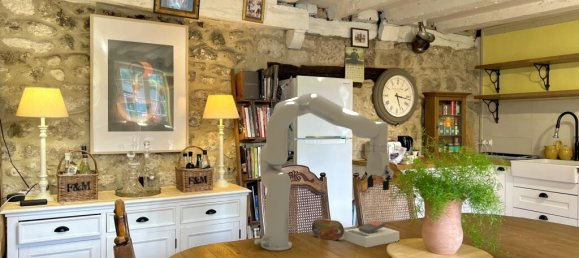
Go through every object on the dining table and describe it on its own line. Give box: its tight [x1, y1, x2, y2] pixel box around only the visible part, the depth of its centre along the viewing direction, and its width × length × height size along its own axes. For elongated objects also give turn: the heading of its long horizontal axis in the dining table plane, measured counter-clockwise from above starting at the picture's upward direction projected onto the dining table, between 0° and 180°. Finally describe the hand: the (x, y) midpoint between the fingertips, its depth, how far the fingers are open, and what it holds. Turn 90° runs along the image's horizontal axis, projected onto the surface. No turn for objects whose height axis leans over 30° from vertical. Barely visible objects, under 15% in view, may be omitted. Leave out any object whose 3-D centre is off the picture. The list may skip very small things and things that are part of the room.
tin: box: [311, 218, 345, 241], centre depth 190 cm, size 15×3×8 cm, turn 57°
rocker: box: [358, 220, 386, 233], centre depth 188 cm, size 10×6×1 cm, turn 124°
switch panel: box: [343, 226, 400, 248], centre depth 188 cm, size 20×14×5 cm
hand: (377, 188), depth 189 cm, fingers open, 8 cm apart
